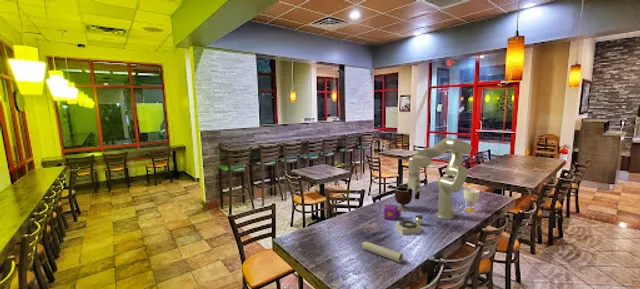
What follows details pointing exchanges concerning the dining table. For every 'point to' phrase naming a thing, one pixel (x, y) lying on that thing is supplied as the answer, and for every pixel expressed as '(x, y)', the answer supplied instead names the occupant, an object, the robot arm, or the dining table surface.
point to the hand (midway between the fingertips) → (413, 196)
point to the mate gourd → (402, 198)
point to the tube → (382, 251)
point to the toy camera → (391, 212)
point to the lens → (419, 220)
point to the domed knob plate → (408, 227)
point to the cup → (471, 198)
